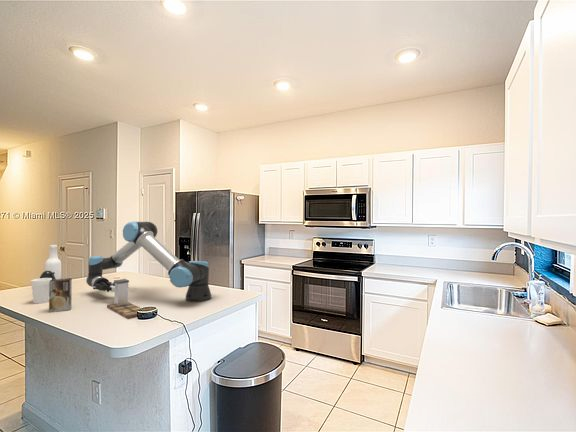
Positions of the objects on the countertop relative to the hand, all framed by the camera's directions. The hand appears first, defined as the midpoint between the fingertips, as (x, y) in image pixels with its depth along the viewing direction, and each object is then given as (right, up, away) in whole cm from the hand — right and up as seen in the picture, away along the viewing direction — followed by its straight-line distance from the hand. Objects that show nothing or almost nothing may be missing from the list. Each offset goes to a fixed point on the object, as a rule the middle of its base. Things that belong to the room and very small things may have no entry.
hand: (115, 289), depth 172 cm
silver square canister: (+6, -7, -6) cm, 11 cm away
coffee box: (-23, -8, -10) cm, 27 cm away
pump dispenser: (-54, -8, +20) cm, 59 cm away
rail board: (+12, -8, -11) cm, 18 cm away
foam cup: (-45, -8, +3) cm, 45 cm away
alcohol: (-62, -8, +34) cm, 71 cm away
